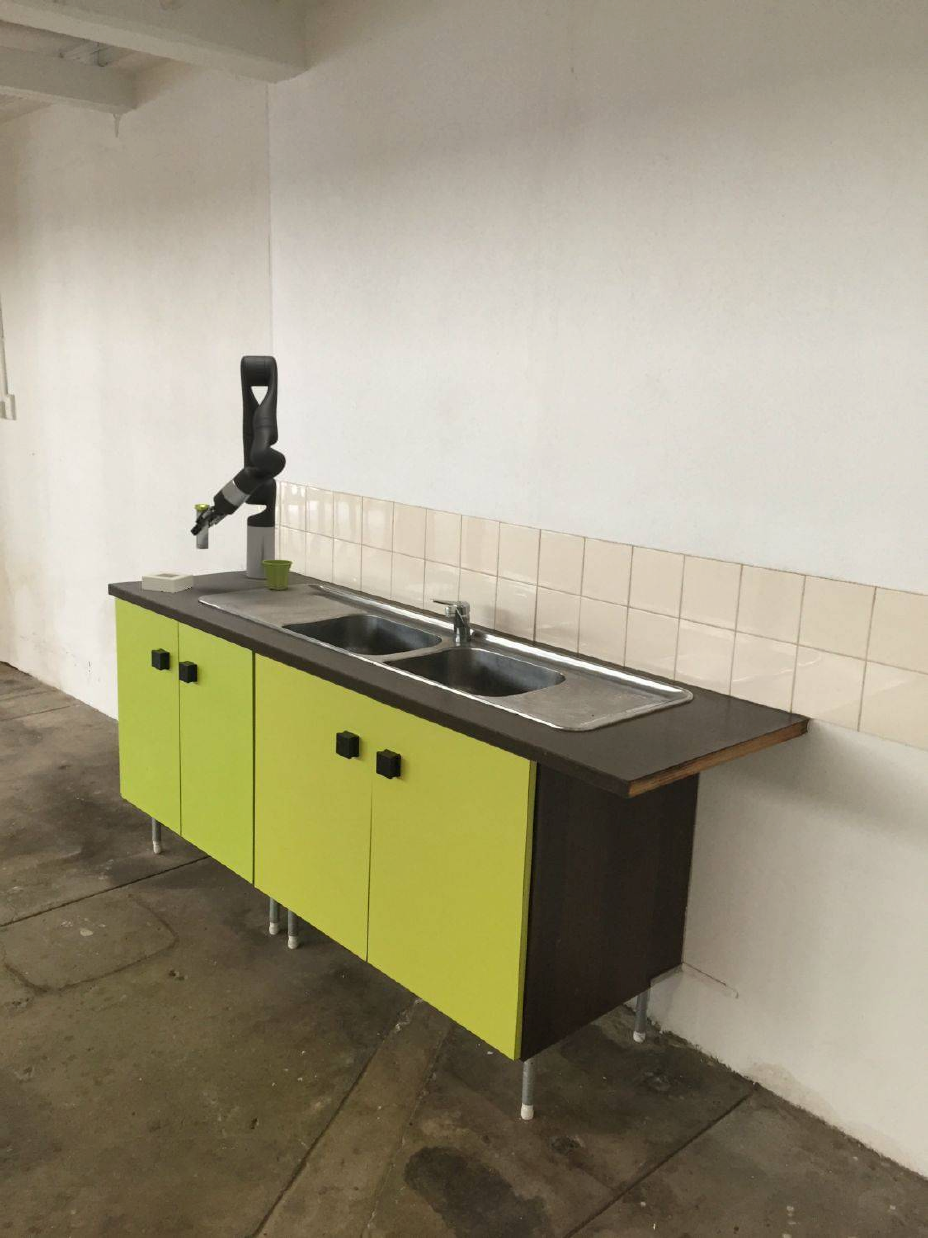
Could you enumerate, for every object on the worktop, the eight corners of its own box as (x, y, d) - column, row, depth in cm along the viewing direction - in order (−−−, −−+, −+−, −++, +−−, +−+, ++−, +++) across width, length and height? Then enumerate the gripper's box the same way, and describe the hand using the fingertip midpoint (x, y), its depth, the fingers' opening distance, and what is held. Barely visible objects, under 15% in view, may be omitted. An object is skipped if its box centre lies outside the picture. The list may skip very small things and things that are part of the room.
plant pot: (258, 586, 332) (259, 559, 330) (287, 585, 336) (287, 559, 334) (266, 591, 324) (266, 564, 322) (295, 591, 328) (296, 563, 326)
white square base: (161, 583, 327) (161, 571, 326) (193, 587, 324) (193, 574, 323) (142, 589, 317) (141, 576, 316) (173, 593, 314) (173, 579, 313)
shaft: (199, 546, 321) (199, 503, 318) (212, 547, 319) (212, 504, 317) (192, 548, 316) (192, 505, 314) (205, 549, 315) (205, 506, 312)
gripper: (236, 484, 318) (200, 520, 324) (212, 488, 305) (176, 525, 311) (251, 503, 318) (215, 539, 324) (228, 507, 305) (191, 545, 311)
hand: (196, 532), depth 317 cm, fingers closed on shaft, 3 cm apart
